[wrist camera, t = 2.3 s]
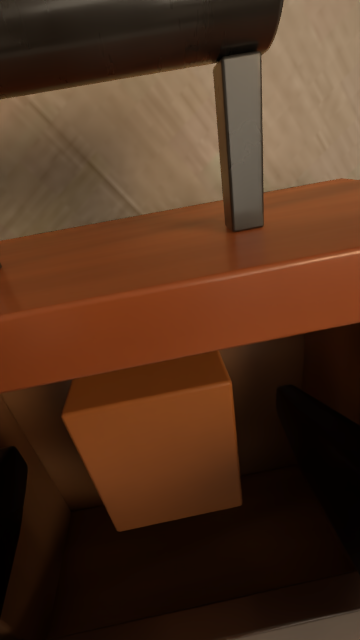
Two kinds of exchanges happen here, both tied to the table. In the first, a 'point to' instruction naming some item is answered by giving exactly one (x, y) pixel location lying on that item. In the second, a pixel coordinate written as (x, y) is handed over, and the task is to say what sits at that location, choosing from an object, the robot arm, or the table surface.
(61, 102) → the table surface
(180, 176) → the table surface
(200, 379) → the orange cube block
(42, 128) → the table surface
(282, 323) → the drawer
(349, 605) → the cabinet
